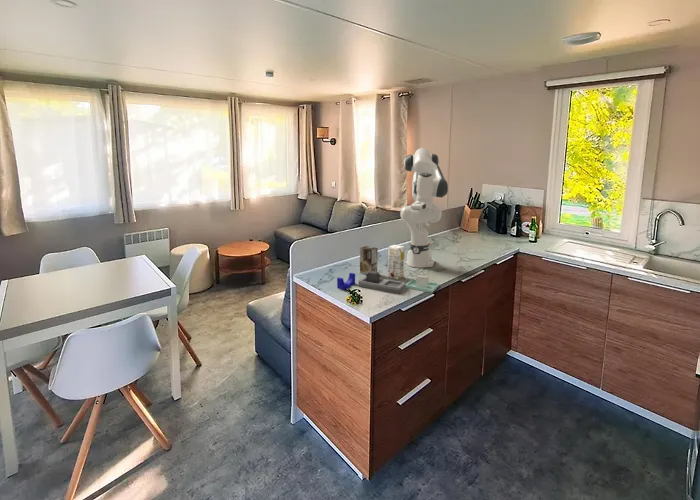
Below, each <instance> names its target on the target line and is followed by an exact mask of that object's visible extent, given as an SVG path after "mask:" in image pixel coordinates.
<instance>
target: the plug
mask: <svg viewBox="0 0 700 500" xmlns="http://www.w3.org/2000/svg"><path fill="white" fill-rule="evenodd" d="M415 280H416V285H415V287H421V288H427V287H428V286H429V282H430V277H429V275H424V274H423V275H422V274H418V275H417V276H416V278H415Z"/></svg>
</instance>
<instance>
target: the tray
mask: <svg viewBox="0 0 700 500" xmlns="http://www.w3.org/2000/svg"><path fill="white" fill-rule="evenodd" d="M415 285H416V278H415V279H414V278H411V280H409V281H408V282H406V288H405V289H411V290H415V291H421V292H427V293H431V294H432V293H434V291H436V290H437V289H438V288H439V287H440V283H439V282H432V281H429V286H428V287H427V288H421V287H415Z"/></svg>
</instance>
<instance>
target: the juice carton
mask: <svg viewBox="0 0 700 500" xmlns="http://www.w3.org/2000/svg"><path fill="white" fill-rule="evenodd" d="M405 249H406V248H405V246H404V245H399V244H392V245H389V246H388V256H387V257H388V259H387V276H388V278H390V279H393V280H395V281H396V280H397V281H398V280H400V279H402V278H404V275H405V261H406V260H405V258H406V257H405V254H406V250H405Z"/></svg>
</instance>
